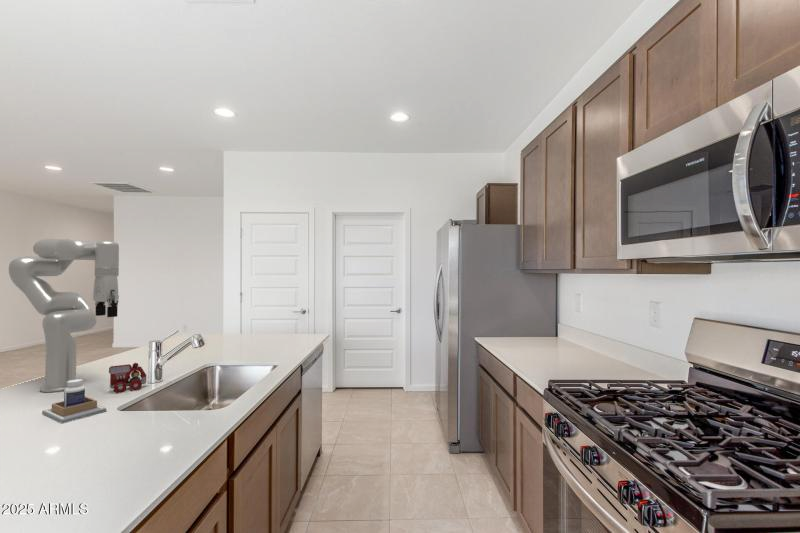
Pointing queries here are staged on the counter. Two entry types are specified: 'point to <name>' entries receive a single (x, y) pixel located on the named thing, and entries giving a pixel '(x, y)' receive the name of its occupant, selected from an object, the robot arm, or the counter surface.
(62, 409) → the bay
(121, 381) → the toy fire truck
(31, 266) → the robot arm
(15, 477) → the counter surface
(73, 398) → the pill bottle
